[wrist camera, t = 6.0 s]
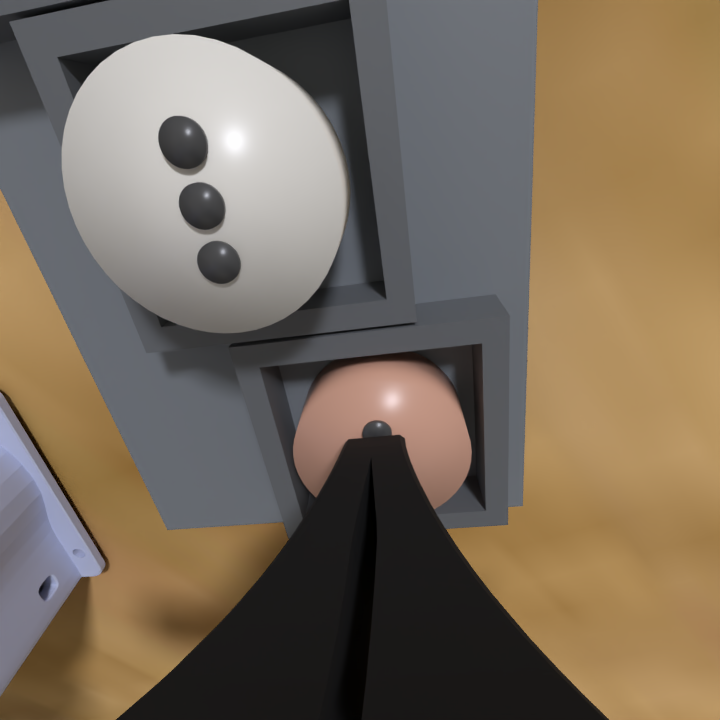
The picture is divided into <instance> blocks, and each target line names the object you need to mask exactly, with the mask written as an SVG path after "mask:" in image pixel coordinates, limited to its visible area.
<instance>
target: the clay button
mask: <svg viewBox="0 0 720 720" xmlns="http://www.w3.org/2000/svg"><path fill="white" fill-rule="evenodd" d="M390 435H401V436H402V437H404V438H405V442H406V448H407V452H408V455H409V458H410V461H411V463H412V466H413V468H414V471H415V473H416V475H417V477H418V480H419V482H420V484H421V486H422V488H423V490H424V492H425V493H426V495H427V497H428V499H429V501H430V503H431V505H432V507H433V508H434V509H436V508H437V507H439V506H441V505H442V504H444V503H445V502H446V501H448V500H449V499H450V498H451V497H452V496H453V495H454V494H455V493H456V492H457V490H458V489H459V488H460V487H461V485H462V484H463V482H464V480H465V478H466V476H467V474H468V471H469V468H470V464H471V455H472V449H471V441H470V438H469V434H468V430H467V427H466V423H465V420H464V416H463V412H462V409H461V405H460V401H459V398H458V395H457V392H456V389H455V387H454V385H453V383H452V382H451V380H450V379H449V377H448V376H447V375H446V374H445V373H444V372H443V371H442V369H441V368H439V367H438V366H437V365H436V364H434V363H433V362H432V361H430V360H428V359H427V358H425V357H423V356H421V355H419V354H417V353H415V352H411V351H408V352H399V353H389V354H380V355H371V356H362V357H353V358H343V359H335V360H334V361H332V362H331V363H329V364H328V365H327V366H326V367H324V368H323V370H322V371H321V372H320V373H319V374H318V375H317V376H316V378H315V379H314V381H313V382H312V384H311V386H310V388H309V390H308V394H307V397H306V400H305V404H304V407H303V410H302V414H301V417H300V421H299V424H298V427H297V431H296V434H295V438H294V444H293V457H294V463H295V467H296V469H297V472H298V475H299V476H300V478H301V480H302V482H303V483H304V485H305V486H306V487H307V489H308V490H309V491H310V492H311V493H312V494H313V495H314V496H315V497H317V496H318V494H319V492H320V490H321V489H322V487H323V485H324V484H325V482H326V480H327V478H328V476H329V474H330V473H331V471H332V469H333V467H334V465H335V463H336V461H337V459H338V457H339V455H340V453H341V451H342V448H343V446H344V444H345V443H346V441H347V440H348V439H356V438H367V437H379V436H390Z"/></svg>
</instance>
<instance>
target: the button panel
mask: <svg viewBox="0 0 720 720" xmlns="http://www.w3.org/2000/svg"><path fill="white" fill-rule="evenodd" d="M537 12H538V0H0V189H1V191H2V193H3V195H4V197H5V199H6V201H7V203H8V205H9V207H10V209H11V211H12V213H13V216H14V218H15V220H16V222H17V224H18V226H19V228H20V230H21V232H22V234H23V236H24V238H25V240H26V242H27V244H28V246H29V248H30V250H31V252H32V254H33V256H34V258H35V260H36V262H37V264H38V267H39V269H40V271H41V273H42V275H43V277H44V279H45V281H46V283H47V285H48V287H49V289H50V291H51V293H52V295H53V297H54V299H55V301H56V303H57V305H58V307H59V309H60V311H61V313H62V315H63V318H64V320H65V322H66V324H67V326H68V328H69V330H70V332H71V334H72V336H73V338H74V340H75V342H76V344H77V346H78V348H79V350H80V352H81V354H82V356H83V358H84V360H85V362H86V364H87V366H88V369H89V371H90V373H91V375H92V377H93V379H94V381H95V383H96V385H97V387H98V389H99V391H100V393H101V395H102V397H103V399H104V401H105V403H106V405H107V407H108V409H109V411H110V413H111V415H112V417H113V420H114V422H115V424H116V426H117V428H118V430H119V432H120V434H121V436H122V438H123V440H124V442H125V444H126V446H127V448H128V450H129V452H130V454H131V456H132V458H133V460H134V462H135V464H136V466H137V468H138V471H139V473H140V475H141V477H142V479H143V481H144V483H145V485H146V487H147V489H148V491H149V493H150V495H151V497H152V499H153V501H154V503H155V505H156V507H157V509H158V511H159V513H160V515H161V517H162V519H163V522H164V524H165V526H166V528H167V530H173V529H188V528H203V527H218V526H232V525H247V524H262V523H277V522H283V523H284V526H285V529H286V532H287V535H288V539H290V538H291V536H292V535H293V533H294V532H295V530H296V529H297V527H298V526H299V524H300V523H301V521H302V520H303V518H304V517H305V515H306V514H307V512H308V510H309V509H310V507H311V506H312V504H313V502H314V501H315V499H316V497H315V496H314V495H313V494H312V493H311V492H310V491H309V490H308V489H307V487H306V486H305V485H304V483H303V482H302V480H301V478H300V476H299V475H298V472H297V469H296V467H295V463H294V457H293V444H294V438H295V434H296V431H297V427H298V424H299V421H300V417H301V414H302V410H303V407H304V404H305V400H306V397H307V394H308V390H309V388H310V386H311V384H312V382H313V381H314V379H315V378H316V376H317V375H318V374H319V373H320V372H321V371H322V370H323V368H324V367H326V366H327V365H328V364H329V363H331V362H332V361H334V360H335V359H343V358H353V357H362V356H371V355H380V354H389V353H399V352H408V351H411V352H415V353H417V354H419V355H421V356H423V357H425V358H427V359H428V360H430V361H432V362H433V363H434V364H436V365H437V366H438V367H439V368H441V369H442V371H443V372H444V373H445V374H446V375H447V376H448V377H449V379H450V380H451V382H452V383H453V385H454V387H455V389H456V392H457V395H458V398H459V401H460V405H461V409H462V412H463V416H464V420H465V423H466V427H467V430H468V434H469V438H470V441H471V449H472V455H471V464H470V468H469V471H468V474H467V476H466V478H465V480H464V482H463V484H462V485H461V487H460V488H459V489H458V490H457V492H456V493H455V494H454V495H453V496H452V497H451V498H450V499H449V500H448V501H446V502H445V503H444V504H442V505H441V506H439V507H437V508H436V509H434V510H435V512H436V514H437V515H438V517H439V519H440V520H441V522H442V524H443V525H444V527H445V529H450V528H466V527H481V526H497V525H508V507H514V506H523V476H524V443H525V410H526V377H527V343H528V310H529V277H530V244H531V211H532V178H533V144H534V111H535V78H536V45H537ZM171 34H181V35H196V36H201V37H206V38H210V39H215V40H218V41H221V42H224V43H226V44H229V45H232V46H235V47H237V48H239V49H241V50H243V51H245V52H246V53H248V54H250V55H252V56H254V57H256V58H258V59H259V60H261V61H263V62H265V63H266V64H268V65H270V66H272V67H274V68H275V69H277V70H279V71H281V72H283V73H284V74H286V75H287V76H288V77H290V78H291V79H292V80H294V81H295V82H297V83H298V84H299V85H300V86H301V87H302V88H303V89H304V90H305V91H307V92H308V93H309V94H310V95H311V96H312V97H313V99H314V100H315V101H316V102H317V103H318V105H319V106H320V107H321V108H322V110H323V111H324V112H325V114H326V116H327V117H328V119H329V120H330V122H331V124H332V125H333V127H334V129H335V131H336V133H337V136H338V138H339V140H340V142H341V145H342V148H343V151H344V154H345V157H346V161H347V166H348V171H349V177H350V189H351V194H350V210H349V216H348V221H347V225H346V228H345V232H344V235H343V238H342V240H341V243H340V245H339V248H338V250H337V253H336V255H335V258H334V260H333V262H332V265H331V267H330V269H329V271H328V274H327V275H326V277H325V278H324V280H323V282H322V283H321V285H320V286H319V288H318V289H317V290H316V291H315V293H314V294H313V295H312V296H311V297H310V299H309V300H308V301H307V302H305V303H304V304H303V305H302V306H301V307H300V308H299V309H298V310H296V311H295V312H293V313H292V314H290V315H289V316H287V317H286V318H284V319H282V320H280V321H278V322H276V323H274V324H272V325H269V326H266V327H263V328H260V329H257V330H252V331H247V332H241V333H212V332H205V331H200V330H194V329H191V328H188V327H184V326H181V325H178V324H176V323H173V322H171V321H168V320H166V319H164V318H162V317H160V316H158V315H156V314H155V313H153V312H151V311H149V310H147V309H146V308H145V307H143V306H142V305H140V304H139V303H137V302H136V301H134V300H133V299H132V298H131V297H130V296H128V295H127V294H126V293H125V292H124V291H123V290H121V289H120V288H119V287H118V286H117V285H116V284H115V283H114V282H113V281H112V280H111V279H110V277H109V276H108V275H107V274H106V273H105V272H104V271H103V269H102V268H101V267H100V265H99V264H98V263H97V262H96V260H95V259H94V257H93V256H92V254H91V253H90V251H89V249H88V248H87V246H86V245H85V243H84V241H83V239H82V237H81V235H80V233H79V231H78V229H77V227H76V225H75V222H74V219H73V217H72V214H71V211H70V209H69V205H68V201H67V197H66V193H65V189H64V183H63V175H62V142H63V134H64V128H65V124H66V120H67V117H68V113H69V110H70V108H71V105H72V103H73V101H74V99H75V97H76V94H77V92H78V91H79V89H80V88H81V86H82V85H83V83H84V82H85V80H86V79H87V77H88V76H89V75H90V74H91V73H92V72H93V71H94V69H95V68H96V67H97V66H98V65H99V64H100V63H101V62H102V61H104V60H105V59H106V58H108V57H109V56H110V55H112V54H113V53H114V52H116V51H117V50H119V49H121V48H123V47H125V46H127V45H129V44H131V43H133V42H136V41H140V40H143V39H146V38H150V37H153V36H162V35H171Z"/></svg>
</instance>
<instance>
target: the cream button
mask: <svg viewBox="0 0 720 720" xmlns="http://www.w3.org/2000/svg"><path fill="white" fill-rule="evenodd" d="M62 175H63V183H64V189H65V193H66V197H67V201H68V205H69V209H70V211H71V214H72V217H73V219H74V222H75V225H76V227H77V229H78V231H79V233H80V235H81V237H82V239H83V241H84V243H85V245H86V246H87V248H88V249H89V251H90V253H91V254H92V256H93V257H94V259H95V260H96V262H97V263H98V264H99V265H100V267H101V268H102V269H103V271H104V272H105V273H106V274H107V275H108V276H109V277H110V279H111V280H112V281H113V282H114V283H115V284H116V285H117V286H118V287H119V288H120V289H121V290H123V291H124V292H125V293H126V294H127V295H128V296H130V297H131V298H132V299H133V300H134V301H136V302H137V303H139V304H140V305H142V306H143V307H145V308H146V309H147V310H149V311H151V312H153V313H155V314H156V315H158V316H160V317H162V318H164V319H166V320H168V321H171V322H173V323H176V324H178V325H181V326H184V327H188V328H191V329H194V330H200V331H205V332H212V333H241V332H247V331H252V330H257V329H260V328H263V327H266V326H269V325H272V324H274V323H276V322H278V321H280V320H282V319H284V318H286V317H287V316H289V315H290V314H292V313H293V312H295V311H296V310H298V309H299V308H300V307H301V306H302V305H303V304H304V303H305V302H307V301H308V300H309V299H310V297H311V296H312V295H313V294H314V293H315V291H316V290H317V289H318V288H319V286H320V285H321V283H322V282H323V280H324V278H325V277H326V275H327V274H328V271H329V269H330V267H331V265H332V262H333V260H334V258H335V255H336V253H337V250H338V248H339V245H340V243H341V240H342V238H343V235H344V232H345V228H346V225H347V221H348V216H349V210H350V194H351V189H350V177H349V171H348V166H347V161H346V157H345V154H344V151H343V148H342V145H341V142H340V140H339V138H338V136H337V133H336V131H335V129H334V127H333V125H332V124H331V122H330V120H329V119H328V117H327V116H326V114H325V112H324V111H323V110H322V108H321V107H320V106H319V105H318V103H317V102H316V101H315V100H314V99H313V97H312V96H311V95H310V94H309V93H308V92H307V91H305V90H304V89H303V88H302V87H301V86H300V85H299V84H298V83H297V82H295V81H294V80H292V79H291V78H290V77H288V76H287V75H286V74H284V73H283V72H281V71H279V70H277V69H275V68H274V67H272V66H270V65H268V64H266V63H265V62H263V61H261V60H259V59H258V58H256V57H254V56H252V55H250V54H248V53H246V52H245V51H243V50H241V49H239V48H237V47H235V46H232V45H229V44H226V43H224V42H221V41H218V40H215V39H210V38H206V37H201V36H196V35H181V34H171V35H162V36H153V37H150V38H146V39H143V40H140V41H136V42H133V43H131V44H129V45H127V46H125V47H123V48H121V49H119V50H117V51H116V52H114V53H113V54H112V55H110V56H109V57H108V58H106V59H105V60H104V61H102V62H101V63H100V64H99V65H98V66H97V67H96V68H95V69H94V71H93V72H92V73H91V74H90V75H89V76H88V77H87V79H86V80H85V82H84V83H83V85H82V86H81V88H80V89H79V91H78V92H77V94H76V97H75V99H74V101H73V103H72V105H71V108H70V110H69V113H68V117H67V120H66V124H65V128H64V134H63V142H62Z"/></svg>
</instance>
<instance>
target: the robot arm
mask: <svg viewBox="0 0 720 720" xmlns="http://www.w3.org/2000/svg"><path fill="white" fill-rule="evenodd" d="M105 565H106V564H105V561H104V559H103V558H102V556H101V555H100V553H99V551H98V550H97V548H96V546H95V545H94V543H93V541H92V540H91V538H90V537H89V535H88V533H87V532H86V530H85V528H84V527H83V525H82V523H81V522H80V520H79V519H78V517H77V515H76V514H75V512H74V510H73V509H72V507H71V505H70V504H69V502H68V500H67V499H66V497H65V496H64V494H63V492H62V491H61V489H60V487H59V486H58V484H57V482H56V481H55V479H54V478H53V476H52V474H51V473H50V471H49V469H48V468H47V466H46V464H45V463H44V461H43V460H42V458H41V456H40V455H39V453H38V451H37V450H36V448H35V446H34V445H33V443H32V442H31V440H30V438H29V437H28V435H27V433H26V432H25V430H24V428H23V427H22V425H21V424H20V422H19V420H18V419H17V417H16V415H15V414H14V412H13V410H12V409H11V407H10V406H9V404H8V402H7V401H6V399H5V397H4V396H3V394H2V393H1V392H0V696H1V695H2V693H3V692H4V690H5V689H6V688H7V686H8V685H9V683H10V682H11V680H12V679H13V677H14V676H15V674H16V673H17V671H18V670H19V668H20V667H21V665H22V664H23V662H24V661H25V659H26V658H27V657H28V655H29V654H30V652H31V651H32V649H33V648H34V646H35V645H36V643H37V642H38V640H39V639H40V637H41V636H42V634H43V633H44V631H45V630H46V629H47V627H48V626H49V624H50V623H51V621H52V620H53V618H54V617H55V615H56V614H57V612H58V611H59V609H60V608H61V606H62V605H63V603H64V602H65V601H66V599H67V598H68V596H69V595H70V593H71V592H72V590H73V589H74V587H75V586H76V584H77V583H78V581H79V580H80V578H81V577H89V576H97V575H99V574H101V572H102V571H103V569H104V568H105ZM116 720H609V719H608V718H607V717H606V716H605V715H604V714H603V713H602V712H601V711H600V710H599V709H598V708H597V707H596V706H594V705H593V704H592V703H591V702H590V701H589V700H588V699H587V698H586V697H585V696H584V695H583V694H582V693H581V692H580V691H579V690H578V689H577V688H576V687H575V686H574V685H573V683H572V682H571V681H570V680H569V679H568V678H567V677H566V676H565V675H564V674H563V673H562V672H561V671H560V670H559V669H558V668H557V667H556V666H555V665H554V664H553V663H552V662H551V661H550V660H549V658H548V657H547V656H546V655H545V654H544V653H543V652H542V651H541V650H540V649H539V648H538V647H537V645H536V644H535V643H534V642H533V641H532V640H531V639H530V638H529V637H528V636H527V634H526V633H525V632H524V631H523V630H522V629H521V627H520V626H519V625H518V624H517V623H516V621H515V620H514V619H513V618H512V617H511V616H510V614H509V613H508V612H507V611H506V610H505V609H504V607H503V606H502V605H501V604H500V603H499V601H498V600H497V599H496V598H495V597H494V596H493V594H492V593H491V592H490V591H489V589H488V588H487V587H486V585H485V584H484V583H483V581H482V580H481V579H480V578H479V576H478V575H477V574H476V572H475V571H474V570H473V568H472V567H471V566H470V564H469V563H468V561H467V560H466V559H465V557H464V556H463V554H462V553H461V552H460V550H459V549H458V547H457V546H456V544H455V543H454V541H453V540H452V538H451V537H450V535H449V533H448V532H447V530H446V529H445V527H444V525H443V524H442V522H441V520H440V519H439V517H438V515H437V514H436V512H435V510H434V508H433V507H432V505H431V503H430V501H429V499H428V497H427V495H426V493H425V492H424V490H423V488H422V486H421V484H420V482H419V480H418V477H417V475H416V473H415V471H414V468H413V466H412V463H411V461H410V458H409V455H408V452H407V448H406V442H405V438H404V437H402V436H401V435H390V436H379V437H367V438H356V439H348V440H347V441H346V443H345V444H344V446H343V448H342V451H341V453H340V455H339V457H338V459H337V461H336V463H335V465H334V467H333V469H332V471H331V473H330V474H329V476H328V478H327V480H326V482H325V484H324V485H323V487H322V489H321V490H320V492H319V494H318V496H317V497H316V499H315V501H314V502H313V504H312V506H311V507H310V509H309V510H308V512H307V514H306V515H305V517H304V518H303V520H302V521H301V523H300V524H299V526H298V527H297V529H296V530H295V532H294V533H293V535H292V536H291V538H290V539H289V540H288V542H287V543H286V545H285V546H284V547H283V549H282V550H281V551H280V553H279V554H278V555H277V557H276V558H275V559H274V561H273V562H272V563H271V564H270V566H269V567H268V568H267V569H266V571H265V572H264V573H263V575H262V576H261V577H260V578H259V579H258V581H257V582H256V583H255V584H254V585H253V586H252V588H251V589H250V590H249V591H248V592H247V593H246V595H245V596H244V597H243V598H242V599H241V600H240V601H239V603H238V604H237V605H236V606H235V607H234V608H233V609H232V610H231V612H230V613H229V614H228V615H227V616H226V617H225V618H224V619H223V620H222V621H221V622H220V623H219V624H218V625H217V627H216V628H214V629H213V630H212V631H211V632H210V633H209V634H208V635H207V636H206V637H205V638H204V639H203V640H202V641H201V642H200V643H199V644H198V645H197V646H196V647H195V648H194V649H193V650H192V651H191V652H190V653H189V654H188V655H187V656H186V657H185V658H184V659H183V660H182V661H181V662H180V663H179V664H178V665H177V666H176V667H175V668H174V669H173V670H172V671H171V672H170V673H169V674H168V675H167V676H165V677H164V678H163V679H162V680H161V681H160V682H159V683H158V684H157V685H155V686H154V687H153V688H152V689H151V690H150V691H149V692H147V693H146V694H145V695H144V696H143V697H142V698H140V699H139V700H138V701H137V702H136V703H135V704H134V705H132V706H131V707H130V708H129V709H128V710H127V711H125V712H124V713H123V714H122V715H121V716H120V717H119V718H117V719H116Z"/></svg>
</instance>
